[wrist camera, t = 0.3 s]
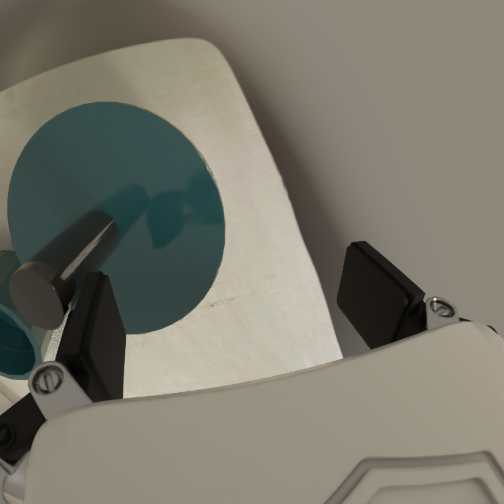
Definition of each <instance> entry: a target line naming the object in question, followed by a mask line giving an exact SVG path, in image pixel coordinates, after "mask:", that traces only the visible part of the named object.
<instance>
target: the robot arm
mask: <svg viewBox="0 0 504 504" xmlns="http://www.w3.org/2000/svg"><path fill="white" fill-rule="evenodd" d="M424 296H425V293H424V292H423V291H422V290H421V289H420V288H419V287H418V286H417V285H416V284H415V283H413V282H412V281H411V280H410V279H409V278H408V277H407V276H406V275H404V274H403V273H402V272H401V271H400V270H399V269H397V268H396V267H395V266H394V265H393V264H392V263H391V262H390V261H388V260H387V259H386V258H385V257H384V256H382V255H381V254H380V253H379V252H378V251H377V250H375V249H374V248H373V247H372V246H371V245H369V244H368V243H367V242H366V241H359V242H352V243H351V244H350V246H348V248H347V251H346V256H345V261H344V266H343V271H342V277H341V281H340V286H339V291H338V296H337V304H338V306H339V308H340V309H341V310H342V312H343V313H344V314H345V316H346V317H347V318H348V320H349V321H350V322H351V323H352V325H353V326H354V328H355V329H356V330H357V332H358V333H359V334H360V336H361V337H362V338H363V340H364V341H365V342H366V344H367V345H368V346H369V348H370V349H371V350H369V351H366V352H363V353H360V354H356V355H353V356H350V357H346V358H343V359H340V360H336V361H333V362H329V363H326V364H322V365H318V366H314V367H311V368H307V369H303V370H299V371H295V372H290V373H286V374H282V375H277V376H273V377H268V378H263V379H259V380H254V381H249V382H244V383H238V384H233V385H227V386H221V387H215V388H208V389H202V390H195V391H187V392H180V393H172V394H164V395H155V396H145V397H134V398H125V399H123V382H124V362H125V347H126V332H125V329H124V326H123V322H122V319H121V316H120V313H119V310H118V307H117V303H116V300H115V297H114V293H113V290H112V286H111V283H110V279H109V276H108V275H104V274H103V272H102V271H98V272H89V273H87V274H86V277H85V280H84V282H83V285H82V288H81V291H80V294H79V296H78V299H77V302H76V305H75V308H74V310H71V311H70V313H69V315H68V318H67V321H66V324H65V327H64V331H63V334H62V337H61V341H60V344H59V347H58V351H57V355H56V358H55V361H48V362H44V363H42V364H40V365H38V366H37V367H36V368H35V369H34V370H33V371H32V372H31V374H30V376H29V379H28V387H29V390H30V393H28V394H27V395H26V396H25V397H23V398H22V399H21V400H19V401H18V402H17V403H16V404H14V405H13V406H12V407H11V408H9V409H8V410H7V411H6V412H4V413H3V414H2V415H0V504H504V340H503V339H502V338H501V337H500V336H499V335H498V333H497V332H496V331H495V329H494V328H492V327H491V326H488V325H485V324H482V323H478V322H473V321H470V320H467V319H463V318H459V316H458V311H457V309H456V307H455V306H454V305H453V304H452V303H451V302H450V301H448V300H446V299H444V298H441V297H431V298H429V299H428V300H427V301H426V303H425V302H424V301H423V298H424Z"/></svg>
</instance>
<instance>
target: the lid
mask: <svg viewBox="0 0 504 504" xmlns="http://www.w3.org/2000/svg"><path fill="white" fill-rule="evenodd" d="M7 215H8V225H9V231H10V236H11V240H12V244H13V247H14V250H15V253H16V255H17V257H18V260H19V262H20V264H21V267H20V268H19V269H18V270H17V271H16V272H15V273H14V274H13V275H12V277H11V280H10V293H11V297H12V300H13V302H14V304H15V306H16V308H17V309H18V311H19V312H20V314H21V315H22V316H23V317H24V318H25V319H26V320H27V321H28V322H30V323H31V324H32V325H34V326H36V327H38V328H40V329H43V330H55V329H57V328H59V327H60V326H61V325H62V324H63V322H64V321H65V319H66V317H67V316H68V315H69V313H70V311H71V310H74V308H75V305H76V302H77V299H78V296H79V294H80V291H81V288H82V285H83V282H84V280H85V277H86V274H87V273H89V272H98V271H102V272H103V274H104V275H108V276H109V279H110V283H111V286H112V290H113V293H114V297H115V300H116V303H117V307H118V310H119V313H120V316H121V319H122V322H123V326H124V329H125V332H126V334H142V333H148V332H152V331H156V330H159V329H162V328H165V327H167V326H169V325H172V324H174V323H175V322H177V321H179V320H180V319H182V318H183V317H185V316H186V315H187V314H188V313H190V312H191V311H192V310H193V309H194V308H195V307H196V306H197V305H198V304H199V303H200V302H201V301H202V300H203V299H204V297H205V296H206V294H207V293H208V291H209V290H210V288H211V287H212V285H213V283H214V280H215V278H216V276H217V274H218V271H219V268H220V265H221V262H222V258H223V252H224V246H225V216H224V207H223V203H222V199H221V195H220V191H219V188H218V185H217V183H216V180H215V178H214V175H213V173H212V171H211V169H210V167H209V166H208V164H207V162H206V160H205V158H204V157H203V155H202V154H201V153H200V151H199V150H198V149H197V147H196V146H195V145H194V144H193V142H192V141H191V140H190V139H189V138H188V137H187V136H186V135H185V134H184V133H183V132H182V131H181V130H180V129H178V128H177V127H176V126H174V125H173V124H172V123H170V122H169V121H168V120H166V119H165V118H163V117H161V116H159V115H157V114H155V113H153V112H152V111H150V110H147V109H144V108H141V107H138V106H135V105H131V104H125V103H119V102H94V103H88V104H82V105H79V106H76V107H73V108H70V109H68V110H66V111H64V112H62V113H60V114H58V115H56V116H55V117H53V118H52V119H51V120H49V121H48V122H47V123H45V124H44V125H43V126H42V127H41V128H40V129H39V130H38V131H37V132H36V133H35V134H34V135H33V136H32V138H31V139H30V140H29V142H28V143H27V144H26V146H25V147H24V149H23V151H22V152H21V154H20V156H19V158H18V160H17V163H16V165H15V168H14V170H13V173H12V177H11V181H10V185H9V192H8V200H7Z"/></svg>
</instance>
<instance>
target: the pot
mask: <svg viewBox="0 0 504 504" xmlns="http://www.w3.org/2000/svg"><path fill="white" fill-rule="evenodd" d="M20 267H21V264H20V262H19V260H18V257H17V255H16V253H15V252H13V251H0V375H1V376H4V377H6V378H9V379H13V380H28V379H29V376H30V374H31V372H32V371H33V370H34V369H35V368H36V367H37V366H38V365H40V364H42V363H43V362H44V358H45V355H46V352H47V349H48V345H49V342H50V339H51V336H52V333H53V330H43V329H40V328H38V327H36V326H34V325H32V324H31V323H30V322H28V321H27V320H26V319H25V318H24V317H23V316H22V315H21V314H20V312H19V311H18V309H17V308H16V306H15V304H14V302H13V300H12V297H11V293H10V280H11V277H12V275H13V274H14V273H15V272H16V271H17V270H18V269H19V268H20Z"/></svg>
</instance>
